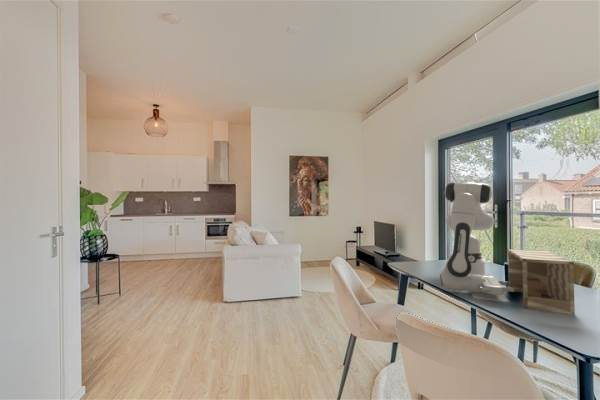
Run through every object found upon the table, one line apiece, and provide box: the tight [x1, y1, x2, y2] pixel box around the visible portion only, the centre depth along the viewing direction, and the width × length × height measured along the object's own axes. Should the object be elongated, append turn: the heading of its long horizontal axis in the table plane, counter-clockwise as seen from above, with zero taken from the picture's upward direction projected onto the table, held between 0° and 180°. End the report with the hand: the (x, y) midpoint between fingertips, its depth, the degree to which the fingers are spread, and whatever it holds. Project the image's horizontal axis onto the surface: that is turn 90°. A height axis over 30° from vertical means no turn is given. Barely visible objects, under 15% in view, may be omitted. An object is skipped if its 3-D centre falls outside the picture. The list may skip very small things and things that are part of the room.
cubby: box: [507, 248, 576, 315], centre depth 127 cm, size 26×16×21 cm, turn 154°
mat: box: [470, 291, 510, 303], centre depth 135 cm, size 14×14×1 cm
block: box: [527, 277, 542, 298], centre depth 128 cm, size 5×5×10 cm
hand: (511, 286), depth 131 cm, fingers open, 8 cm apart
